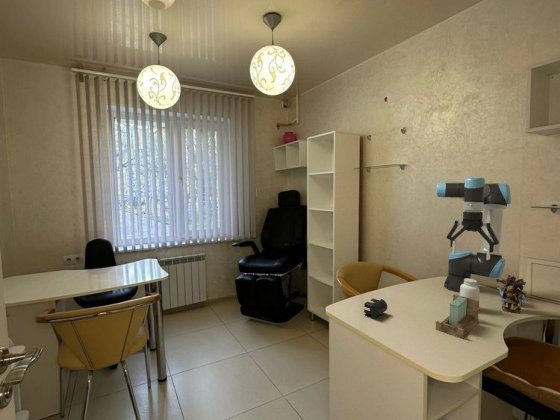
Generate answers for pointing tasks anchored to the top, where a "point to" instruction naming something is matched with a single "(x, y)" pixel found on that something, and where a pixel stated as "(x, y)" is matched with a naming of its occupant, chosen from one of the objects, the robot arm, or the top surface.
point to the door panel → (457, 311)
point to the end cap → (375, 308)
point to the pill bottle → (469, 289)
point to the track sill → (466, 323)
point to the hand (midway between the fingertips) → (470, 256)
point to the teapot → (519, 299)
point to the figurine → (512, 293)
